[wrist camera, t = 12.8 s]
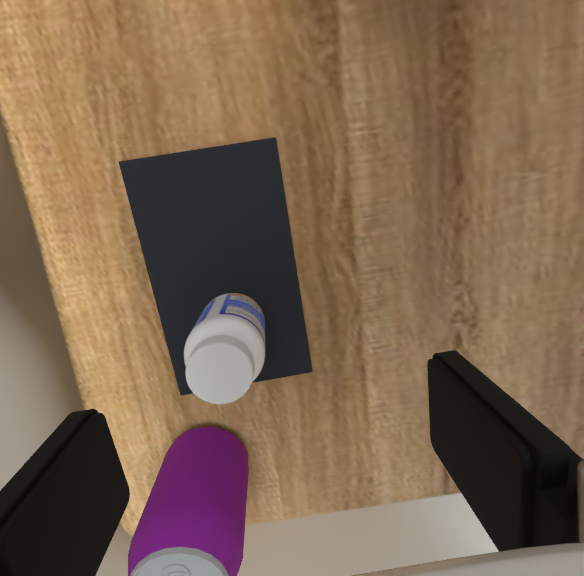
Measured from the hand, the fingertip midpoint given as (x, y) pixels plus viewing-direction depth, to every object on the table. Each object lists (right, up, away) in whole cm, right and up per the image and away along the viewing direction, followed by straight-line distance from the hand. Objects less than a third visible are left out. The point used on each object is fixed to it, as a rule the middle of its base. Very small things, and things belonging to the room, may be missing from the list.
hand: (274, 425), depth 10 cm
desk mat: (-5, +5, +19) cm, 21 cm away
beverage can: (-7, -12, +23) cm, 27 cm away
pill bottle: (-4, +1, +20) cm, 21 cm away
